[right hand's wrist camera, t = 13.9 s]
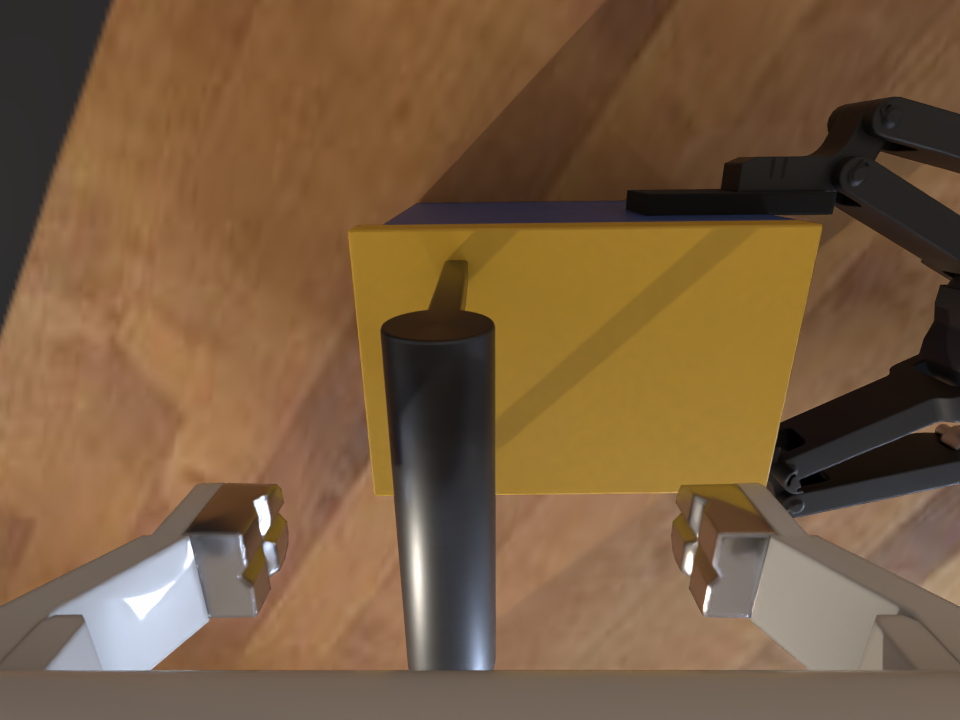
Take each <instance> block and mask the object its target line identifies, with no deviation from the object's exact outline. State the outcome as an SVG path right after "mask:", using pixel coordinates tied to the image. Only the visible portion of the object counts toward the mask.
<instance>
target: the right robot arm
mask: <svg viewBox="0 0 960 720" xmlns="http://www.w3.org/2000/svg"><path fill="white" fill-rule="evenodd" d="M283 503H284V500H283V495H282V490H281V488H280V487H279V486H278V485H277V484H249V483H227V484H226V483H201V484H198V485H196V486H195V487H194V488H193V489H192V490H191V491H190V493H189V494H188V495H187V496H186V497H185V498H184V499H183V500H182V501H181V503H180V504H179V505H178V506H177V507H176V508H175V509H174V510H173V512H172V513H171V514H170V515H169V516H168V517H167V518H166V519H165V521H164V522H163V523H162V524H161V525H160V526H159V527H158V528H157V529H156V531H155V532H154V533H153V534H152V535H151V536H141V537H139V538H137V539H135V540H133V541H131V542H129V543H127V544H125V545H123V546H121V547H119V548H117V549H115V550H113V551H111V552H109V553H107V554H105V555H103V556H101V557H99V558H97V559H95V560H93V561H91V562H89V563H87V564H85V565H83V566H81V567H79V568H77V569H75V570H73V571H71V572H69V573H67V574H65V575H63V576H61V577H59V578H57V579H54V580H52V581H50V582H48V583H46V584H44V585H42V586H40V587H38V588H36V589H34V590H32V591H30V592H28V593H26V594H24V595H22V596H20V597H18V598H16V599H14V600H12V601H10V602H8V603H6V604H4V605H2V606H0V720H960V607H959V606H957V605H955V604H953V603H951V602H949V601H947V600H945V599H943V598H941V597H939V596H937V595H935V594H933V593H931V592H929V591H927V590H925V589H923V588H921V587H919V586H917V585H915V584H913V583H911V582H909V581H907V580H905V579H903V578H901V577H899V576H897V575H895V574H893V573H891V572H889V571H887V570H885V569H883V568H881V567H879V566H877V565H875V564H873V563H871V562H869V561H867V560H865V559H863V558H861V557H859V556H857V555H855V554H853V553H851V552H849V551H847V550H845V549H843V548H841V547H839V546H837V545H835V544H833V543H831V542H829V541H827V540H825V539H823V538H821V537H819V536H809V535H808V534H807V533H806V532H805V531H804V530H803V528H802V527H801V526H800V525H799V524H798V523H797V522H796V521H795V519H794V518H793V517H792V516H791V515H790V514H789V513H788V512H787V511H786V509H785V508H784V507H783V506H782V505H781V504H780V503H779V502H778V500H777V499H776V498H775V497H774V496H773V495H772V494H771V493H770V491H769V490H768V489H767V488H766V487H765V486H764V485H762V484H760V483H732V484H698V485H681V486H680V488H679V490H678V494H677V500H676V503H677V505H678V507H679V509H680V511H681V512H682V513H681V514H680V515H679V516H678V517H677V518H676V519H675V520H674V521H673V525H672V534H671V539H672V550H673V553H674V557H675V560H676V563H677V565H678V567H679V569H680V571H682V572H683V573H684V574H686V575H687V576H689V577H690V578H691V580H690V586H689V589H690V591H691V593H692V595H693V597H694V599H695V601H696V603H697V605H698V607H699V609H700V611H701V613H702V615H703V617H727V618H751V621H752V622H753V623H754V624H755V625H757V626H758V627H759V628H760V629H761V630H762V631H764V632H765V633H766V634H767V635H768V636H770V637H771V638H772V639H773V640H774V641H776V642H777V643H778V644H779V645H780V646H781V647H783V648H784V649H785V650H786V651H787V652H789V653H790V654H791V655H792V656H793V657H795V658H796V659H797V660H798V661H799V662H800V663H802V664H803V665H804V666H805V667H806V668H808V669H809V670H151V669H153V668H154V667H155V666H156V665H157V664H158V663H160V662H161V661H162V660H163V659H164V658H166V657H167V656H168V655H169V654H170V653H172V652H173V651H174V650H175V649H176V648H177V647H179V646H180V645H181V644H182V643H183V642H185V641H186V640H187V639H188V638H189V637H191V636H192V635H193V634H194V633H195V632H197V631H198V630H199V629H200V628H201V627H202V626H204V625H205V624H206V623H207V622H208V621H209V618H232V617H257V615H258V613H259V611H260V609H261V607H262V605H263V603H264V601H265V599H266V597H267V595H268V593H269V591H270V589H271V586H270V580H269V578H270V577H271V576H273V575H274V574H275V573H277V572H278V571H280V569H281V567H282V565H283V562H284V560H285V557H286V552H287V548H288V525H287V521H286V520H285V519H284V518H283V517H282V516H281V515H280V514H279V513H278V512H279V510H280V509H281V507H282V505H283Z"/></svg>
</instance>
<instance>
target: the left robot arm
mask: <svg viewBox="0 0 960 720" xmlns="http://www.w3.org/2000/svg"><path fill="white" fill-rule="evenodd" d="M827 127H828V132H829V134H828V135H827V137H826V139H825V141H824V143H823V144H822V145H821V147H820V148H819V149H818V150H817V151H815V152H814V153H812V154H810V155H807V156H796V157H739V158H736V159H734V160H731V161H729V162H726V163H725V164H724V171H723V178H722V185H721V189H695V190H627V201H626V210H629V211H632V212H636V213H639V214H642V215H645V216H674V215H758V214H767V215H827V214H832V213H833V209H834V206H836V207H837V208H839V209H841V210H842V211H844V212H845V213H847V214H849V215H850V216H852V217H854V218H855V219H857V220H859V221H860V222H862V223H863V224H865V225H867V226H868V227H870V228H872V229H873V230H875V231H877V232H878V233H880V234H881V235H883V236H885V237H886V238H888V239H890V240H891V241H893V242H895V243H896V244H898V245H900V246H901V247H903V248H904V249H906V250H908V251H909V252H911V253H913V254H914V255H916V256H918V257H919V258H921V259H922V260H921V262H922V263H923V264H925V265H926V266H928V267H929V268H931V269H933V270H934V271H936V272H938V273H939V274H941V275H943V276H944V277H946V278H948V279H949V280H951V281H950V282H949V284H948V285H940V288H939V291H938V294H937V297H936V301H935V314H934V322H933V324H932V326H931V327H930V329H929V331H928V332H927V334H926V336H925V337H924V340H923V343H922V346H921V350H920V353H919V354H918V355H916V356H914V357H911V358H909V359H907V360H905V361H902V362H900V363H898V364H896V365H894V366H892V367H891V368H890V369H889V370H890V374H889V375H888V376H886V377H884V378H881V379H879V380H877V381H875V382H872V383H870V384H868V385H865V386H863V387H861V388H859V389H856V390H854V391H852V392H849V393H847V394H845V395H843V396H840V397H838V398H836V399H834V400H831V401H829V402H827V403H824V404H822V405H820V406H818V407H815V408H813V409H811V410H808V411H806V412H804V413H802V414H799V415H797V416H795V417H792V418H790V419H788V420H786V421H783V422H781V423H780V426H779V431H778V435H777V440H776V444H775V449H774V454H773V458H772V463H771V467H770V472H769V477H768V481H767V486H766V488H767V489H768V490H769V491H770V493H771V494H772V495H773V496H774V497H775V498H776V499H777V500H778V502H779V503H780V504H781V505H782V506H783V507H784V508H785V509H786V511H787V512H788V513H789V514H790V515H791V516H792V517H793V518H797V517H802V516H806V515H811V514H816V513H821V512H826V511H830V510H835V509H840V508H845V507H850V506H854V505H859V504H864V503H869V502H874V501H878V500H883V499H888V498H893V497H898V496H902V495H907V494H912V493H917V492H922V491H926V490H931V489H936V488H941V487H946V486H950V485H955V484H960V425H958V426H953V427H949V426H948V425H946V424H941V425H939V426H937V427H936V429H935V433H914V434H910V433H913V432H915V431H918V430H920V429H922V428H925V427H927V426H930V425H932V424H934V423H937V422H943V421H944V422H953V423H955V422H960V215H958V214H957V213H955V212H954V211H952V210H951V209H949V208H947V207H946V206H944V205H943V204H941V203H940V202H938V201H936V200H935V199H933V198H932V197H930V196H929V195H927V194H925V193H924V192H922V191H921V190H919V189H918V188H916V187H915V186H913V185H911V184H910V183H908V182H907V181H905V180H904V179H902V178H900V177H899V176H897V175H896V174H894V173H893V172H891V171H889V170H888V169H886V168H885V167H883V166H882V165H880V164H879V163H877V162H875V161H874V160H875V159H876V157H877V155H878V154H879V152H880V151H881V152H885V153H888V154H892V155H895V156H899V157H903V158H906V159H910V160H914V161H917V162H921V163H924V164H928V165H932V166H935V167H939V168H942V169H946V170H950V171H953V172H957V173H960V114H958V113H954V112H951V111H947V110H944V109H940V108H937V107H933V106H930V105H926V104H923V103H919V102H916V101H913V100H909V99H906V98H902V97H889V98H883V99H877V100H870V101H864V102H858V103H852V104H845V105H843V106H840V107H838V108H837V109H836V110H834V111H833V112H832V114H831V116H830V117H829V120H828V124H827Z"/></svg>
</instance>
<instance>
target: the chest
mask: <svg viewBox="0 0 960 720" xmlns="http://www.w3.org/2000/svg"><path fill="white" fill-rule="evenodd" d="M760 220H795V219H790V218H784V217H779V216H773V215H767V214H758V215H674V216H645V215H642V214H639V213H636V212H632V211H629V210H626V201H559V202H475V203H417V204H415V205H413V206H412V207H410V208H409V209H407V210H405V211H404V212H402V213H401V214H399V215H398V216H396V217H394V218H393V219H391V220H390V221H388V222H386V223H385V224H383V225H417V224H503V223H589V222H674V221H760Z"/></svg>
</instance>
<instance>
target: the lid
mask: <svg viewBox="0 0 960 720" xmlns="http://www.w3.org/2000/svg"><path fill="white" fill-rule="evenodd" d="M822 228H823V227H822V225H821V224H818V223H812V222H806V221H801V220H760V221H674V222H589V223H503V224H417V225H358V226H356V227H354V228H352V229H350V230H349V231H348V238H349V248H350V258H351V268H352V278H353V288H354V298H355V308H356V318H357V328H358V339H359V349H360V359H361V369H362V379H363V389H364V399H365V409H366V419H367V429H368V439H369V449H370V459H371V470H372V480H373V490H374V495H375V496H394V502H395V514H396V526H397V538H398V550H399V562H400V574H401V586H402V598H403V610H404V622H405V634H406V646H407V658H408V667H409V670H493V667H494V664H495V657H496V537H495V495H514V494H620V493H678V490H679V488H680V486H681V485H698V484H732V483H760V484H762V485H764V486H765V487H766V486H767V481H768V477H769V472H770V467H771V463H772V458H773V454H774V449H775V444H776V440H777V435H778V431H779V426H780V421H781V417H782V412H783V407H784V403H785V398H786V394H787V389H788V384H789V380H790V375H791V371H792V366H793V361H794V357H795V352H796V348H797V343H798V338H799V334H800V329H801V324H802V320H803V315H804V311H805V306H806V301H807V297H808V292H809V288H810V283H811V278H812V274H813V269H814V265H815V260H816V255H817V251H818V246H819V241H820V237H821V232H822Z"/></svg>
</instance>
